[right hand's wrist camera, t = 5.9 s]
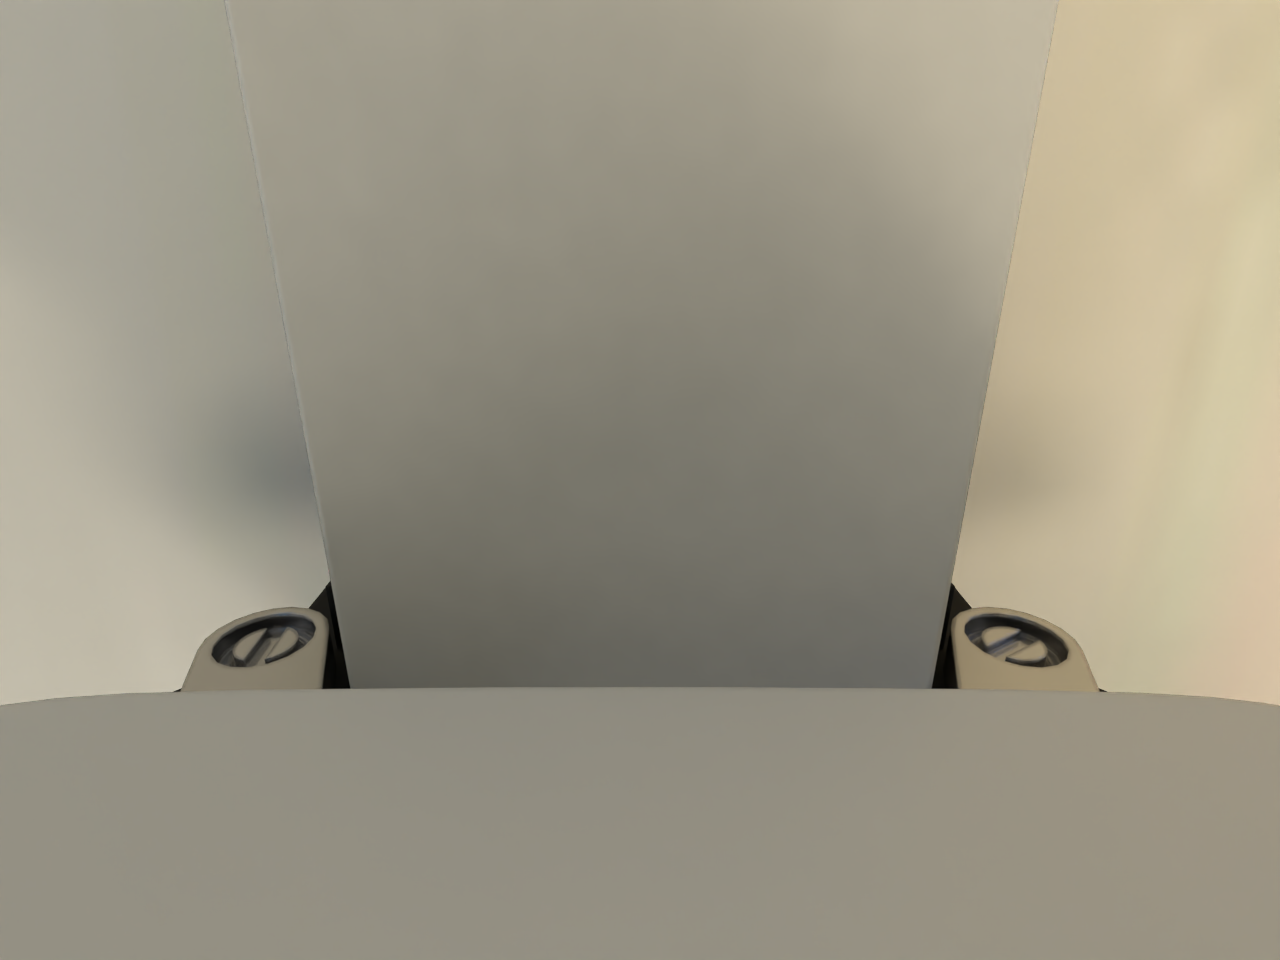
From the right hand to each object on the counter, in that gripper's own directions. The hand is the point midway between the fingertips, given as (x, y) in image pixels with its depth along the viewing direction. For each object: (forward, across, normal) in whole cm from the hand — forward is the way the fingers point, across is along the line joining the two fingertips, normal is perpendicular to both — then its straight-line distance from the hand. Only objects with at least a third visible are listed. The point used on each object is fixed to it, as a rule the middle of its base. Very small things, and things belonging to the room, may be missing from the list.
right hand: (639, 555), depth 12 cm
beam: (+2, 0, -24) cm, 24 cm away
